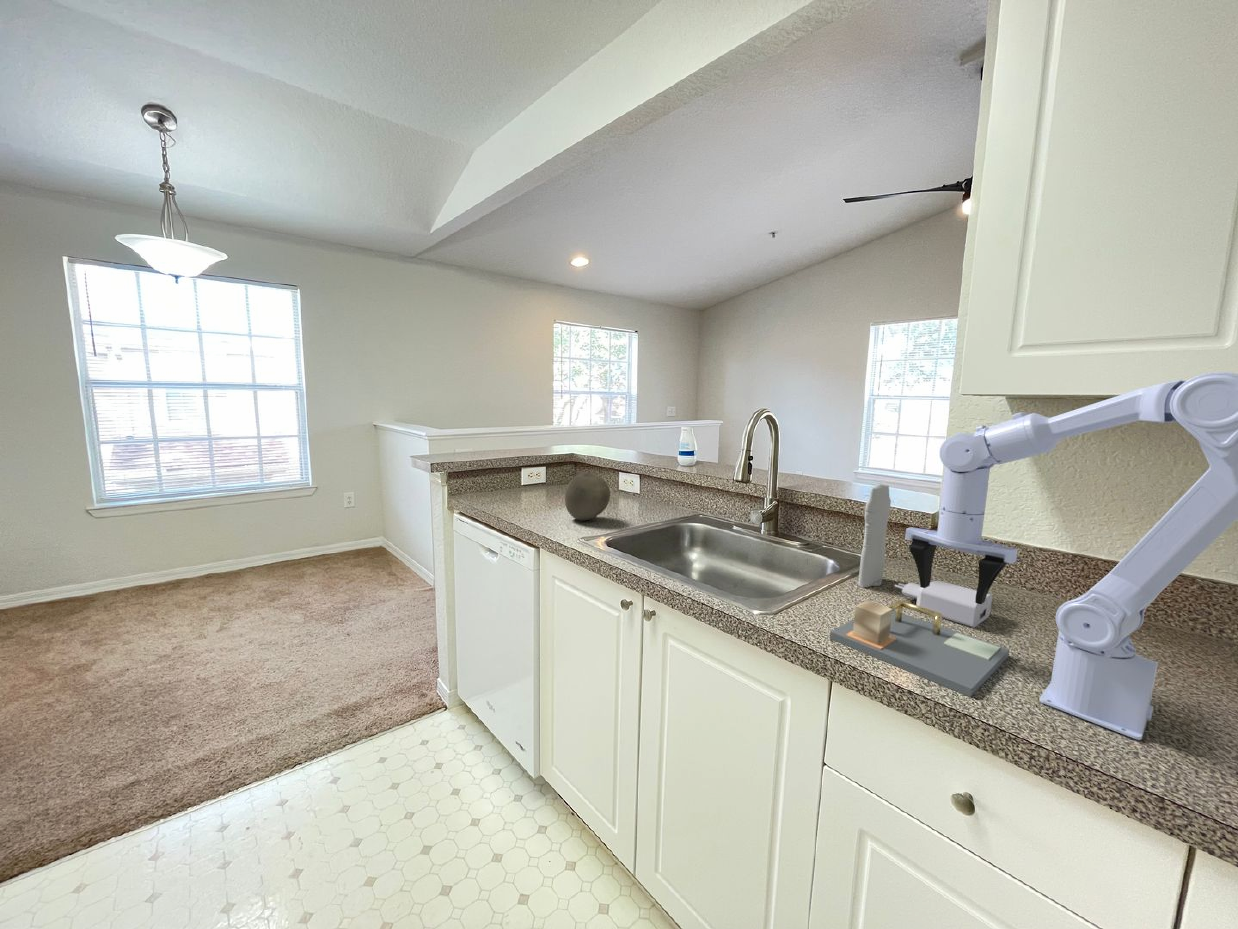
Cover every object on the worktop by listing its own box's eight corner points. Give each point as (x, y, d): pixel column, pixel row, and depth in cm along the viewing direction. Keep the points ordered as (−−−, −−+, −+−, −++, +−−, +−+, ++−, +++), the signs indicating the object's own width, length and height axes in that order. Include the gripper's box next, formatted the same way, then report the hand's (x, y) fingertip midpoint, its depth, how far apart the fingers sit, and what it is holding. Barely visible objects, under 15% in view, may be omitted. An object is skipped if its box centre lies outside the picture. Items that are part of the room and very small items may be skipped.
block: (889, 638, 80) (892, 608, 79) (877, 645, 77) (880, 615, 77) (864, 628, 83) (867, 600, 82) (852, 635, 80) (855, 606, 80)
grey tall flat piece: (869, 591, 103) (879, 488, 100) (850, 585, 106) (859, 485, 103) (890, 580, 110) (900, 483, 107) (871, 574, 113) (880, 480, 110)
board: (1008, 656, 78) (1009, 648, 78) (970, 697, 67) (971, 687, 66) (878, 611, 93) (879, 604, 93) (829, 638, 82) (830, 630, 82)
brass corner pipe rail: (940, 634, 82) (943, 612, 81) (924, 646, 78) (926, 624, 77) (896, 619, 87) (898, 598, 87) (878, 629, 83) (880, 608, 83)
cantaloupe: (567, 526, 148) (568, 477, 146) (561, 515, 161) (562, 470, 159) (613, 525, 151) (614, 477, 149) (603, 514, 165) (604, 470, 162)
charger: (905, 591, 104) (989, 617, 93) (885, 601, 99) (972, 630, 87) (907, 569, 104) (993, 593, 92) (887, 578, 98) (976, 604, 86)
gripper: (1027, 516, 73) (1015, 603, 75) (920, 499, 84) (912, 575, 86) (1014, 523, 69) (1001, 615, 71) (903, 504, 80) (895, 583, 82)
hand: (951, 594), depth 78 cm, fingers open, 7 cm apart
